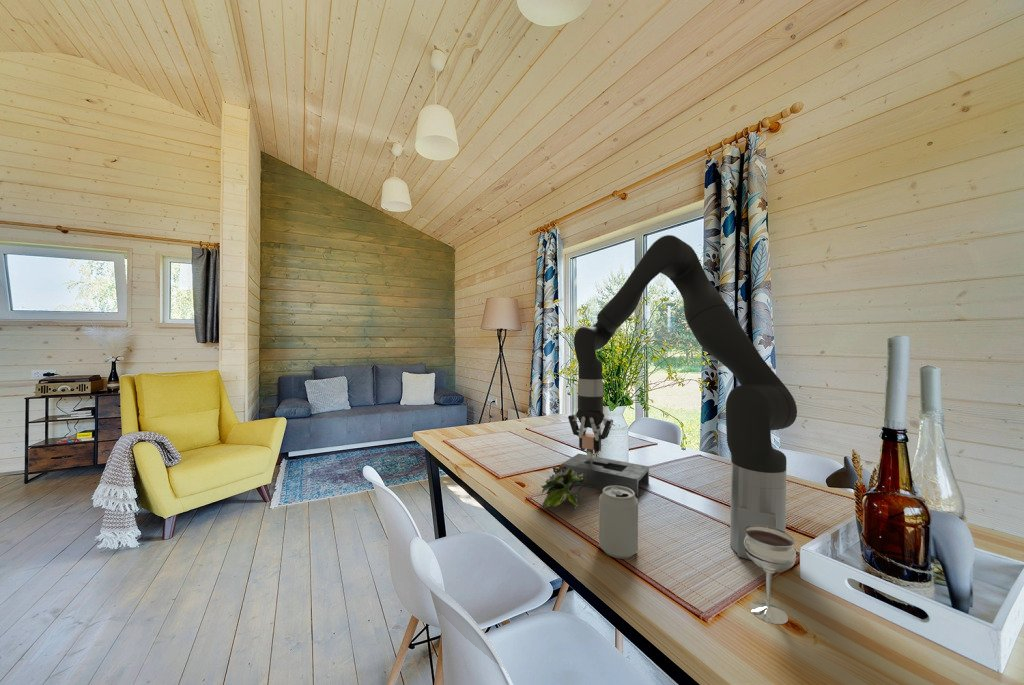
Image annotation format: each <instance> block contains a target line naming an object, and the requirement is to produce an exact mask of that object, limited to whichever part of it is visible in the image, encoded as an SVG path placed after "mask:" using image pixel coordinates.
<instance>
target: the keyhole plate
mask: <svg viewBox="0 0 1024 685" xmlns="http://www.w3.org/2000/svg"><path fill="white" fill-rule="evenodd" d="M561 466H567V468H566V469H570V468H572V470H573V469H574V470H576V471H577V473H578V475H581V474H584V476H585V474H586V476H587V479H586V481H585V483H584V485H583V486H582V487H587V488H593V489H597V490H601V491H603V489H604V488H605V487H607V486H623V487H627V488H629V489H631V490H633V491H634V493H635V497H636V498H637V499H638V498H639V484H643V485H649V484H650V466H648V465H643V464H637V463H632V462H627V461H621V460H615V459H609V458H606V457H600V456H595V455H593V464H588V463H587V454H583V453H577V454H575V455H573V456H572V457H570V458H569V459H567V460H566V461H564V462H562V463H561ZM566 469H565V471H566ZM562 472H563V471H562ZM578 475H577V477H579V476H578ZM579 483H580V484H579V485H578V486H581V485H582V484H583V482H579Z"/></svg>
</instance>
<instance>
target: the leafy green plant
mask: <svg viewBox="0 0 1024 685" xmlns="http://www.w3.org/2000/svg"><path fill="white" fill-rule="evenodd" d="M566 468H567V466H562V465H558V467H556V466H553V467H552V470H553V471H552V472H553V473H554V474H553V473H552V475H551V476H550V475H549V476H548V477H549V478H546V481H545V482H544V483H545V484H543V485H540V487H541V488H542V489H541V490H542V491H541V494H543V493H545V491H546V497H545V498H544V501H543V503H542V504H543V508H544V509H548V508H550V507H552V508H555V507H558V506H560V505H561V504H562V503H563V502H565V500H566V499H567V498H568V501H569V502H570V503H571V504H572V505H574V509H573V510H574V511H576V509H577V507H578V506H579V504H578V499H579V496H580V492H581V490H582V488H583V487H584V486H583V485H584V483H585V481H586V479H587V476H586V474H585V476H584V474H581V475H578V473H577V471H576V470H574V469H573V470H572V468H570V469H566ZM565 469H566V471H565ZM562 471H563V472H562ZM577 475H578V476H579V477H577ZM579 482H583V484H582V485H579V484H580V483H579ZM573 486H580V487H579V489H578V491H577V492H576V493H573V492H571V491H572V489H573Z"/></svg>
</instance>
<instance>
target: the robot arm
mask: <svg viewBox="0 0 1024 685" xmlns="http://www.w3.org/2000/svg"><path fill="white" fill-rule="evenodd" d="M660 274H662V275H664V276H665V277H667V278H668V279H669V280H670V281H671V282H672V283H673V285H674V286H675V287H676V289H677V290H678V292H679V294H680V296H681V298H682V301H683V302H682V303H683V312H684V317H685V321H686V323H687V326H688V327H689V330H691V333H692V334H693V337H694V338H695V340H696V341H697V343H698V344H699V345H700V347H702V348H703V349H704V350H705V351H706V352H707V353H708V354H709V355H710V356H712V357H713V358H714V359H715V360H716V361H718V362H719V363H721V364H722V365H723V366H724V367H726V368H727V369H728V370H729V371H730V372H731V373H732V374H733V375H734V377H735V379H736V380H737V381H738V383H739V384H740V385H737V386H735V387H734V388H733V389H731V390H730V392H729V393H728V395H727V398H726V403H725V428H726V430H725V431H726V443H727V447H728V450H729V454H730V457H731V458H730V465H731V466H730V468H731V469H730V471H731V472H730V521H729V522H730V525H729V526H730V528H729V529H730V536H729V537H730V540H729V542H730V548H732V551H734V552H735V553H736V556H737V557H738V558H743V559H745V560H749V561H752V560H751V559H750V557H749V556H748V555H747V553H746V551H745V548H744V539H745V537H746V533H745V531H744V529H745V527H747V526H750V525H763V526H769V527H773V528H776V529H779V530H781V531H784V532H786V524H787V523H786V522H787V521H786V520H787V518H786V517H787V516H786V514H787V511H786V510H787V456H786V454H785V453H784V452H782V450H779V449H776V448H774V447H773V445H772V432H771V431H777V430H784V429H787V428H789V427H791V426H792V425H793V424H794V423H795V422H796V420H797V417H798V408H797V403H796V400H795V399H794V396H793V394H791V391H790V390H789V389H788V388H787V386H786V385H785V384H784V382H782V380H781V379H780V378H779V377H778V375H777V374H776V373H775V372H774V371H773V369H772V368H771V367H770V366H769V364H768V363H767V362H766V361H765V360H764V358H763V357H762V356H761V354H760V353H759V351H758V350H757V348H756V346H755V345H754V344H753V342H752V341H751V339H750V337H749V335H747V333H746V332H745V330H744V329H743V326H741V324H740V322H739V320H738V319H737V317H736V316H735V314H734V313H733V311H732V309H731V308H730V306H729V305H728V303H727V302H726V301H725V299H724V298H723V297H722V295H721V294H720V292H719V291H718V289H717V288H716V287H715V286H714V285H713V284H712V282H711V281H710V279H709V278H708V276H707V274H706V272H705V269H704V268H703V266H702V264H701V261H700V259H699V257H698V255H697V252H696V251H695V249H693V247H692V246H691V245H690V244H688V243H687V242H685V240H684V241H683V240H682V239H680V238H679V237H677V236H675V235H673V234H665V235H662V236H660V237H659V238H657V239H655V241H654V242H653V243H652V244H651V245H650V246H649V248H648V249H647V250H646V252H645V253H644V255H643V256H642V257H641V259H640V260H639V262H638V263H637V265H635V268H634V269H633V271H632V272H631V273H630V275H629V276H628V278H627V280H626V281H625V282H624V284H623V285H622V286H621V288H620V289H619V290H618V291H617V293H615V295H614V296H613V297H612V298H611V299H610V300H609V301H608V302H607V303H606V304H605V305H604V306H603V307H602V308H601V310H600V311H599V312H598V313H597V316H596V319H597V321H596V322H595V324H594V325H592V326H582V327H579V328H578V329H577V330H576V331H575V333H574V338H573V346H574V352H575V356H576V360H577V363H578V370H577V372H578V377H577V379H578V380H577V401H576V402H577V407H576V408H577V412H576V413H575V414H570V415H568V417H567V418H568V422H569V426H570V427H571V432H572V434H573V435H574V436H577V437H578V442H579V443H578V447H579V449H580V451H585V450H586V449H585V448H582V436H583V435H585V434H587V430H588V428H589V429H592V434H594V436H595V440H594V450H593V453H595V454H599V452H600V451H601V449H602V440H605V439H607V438H608V437H609V434H610V431H611V428H612V427H613V426H612V425H613V423H614V419H611V418H610V419H609V418H607V417H606V416H605V414H604V393H605V392H604V391H605V390H604V383H603V382H604V381H603V363H602V361H601V359H599V358H597V353H596V351H597V350H600V349H602V348H604V347H605V346H606V345H607V344H608V342H610V341H611V339H612V337H613V336H614V335H615V333H616V331H617V329H619V327H621V326H622V325H624V323H625V322H626V321H627V320H628V319H629V318H630V317H631V316H632V315H633V313H634V312H635V311H636V309H637V307H638V305H639V303H640V301H641V297H642V295H643V293H644V291H645V289H646V288H647V286H648V285H649V284H650V282H651V281H652V280H653V279H655V278H656V277H657V276H658V275H660ZM578 421H579V423H580V426H579V424H578ZM602 422H603V425H604V427H603V430H602V428H601V423H602ZM601 430H602V431H601Z"/></svg>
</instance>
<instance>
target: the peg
mask: <svg viewBox="0 0 1024 685" xmlns="http://www.w3.org/2000/svg"><path fill="white" fill-rule="evenodd" d="M594 440H595V436H594V433H587V432H586V434H585V435H583V436H582V448H585V450H586V455H587V463H588V464H593V456H594Z"/></svg>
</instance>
